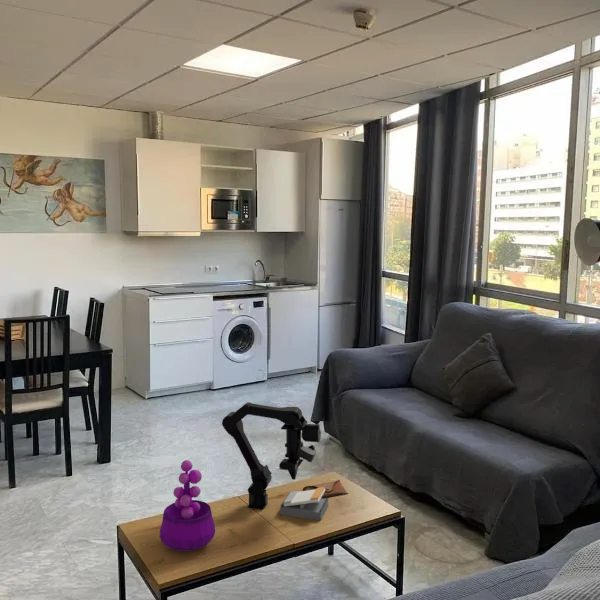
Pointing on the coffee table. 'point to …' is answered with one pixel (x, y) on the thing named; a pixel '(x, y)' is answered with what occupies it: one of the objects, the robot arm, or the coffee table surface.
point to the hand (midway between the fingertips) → (293, 479)
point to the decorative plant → (187, 515)
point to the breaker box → (306, 509)
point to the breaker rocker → (304, 497)
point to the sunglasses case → (329, 489)
